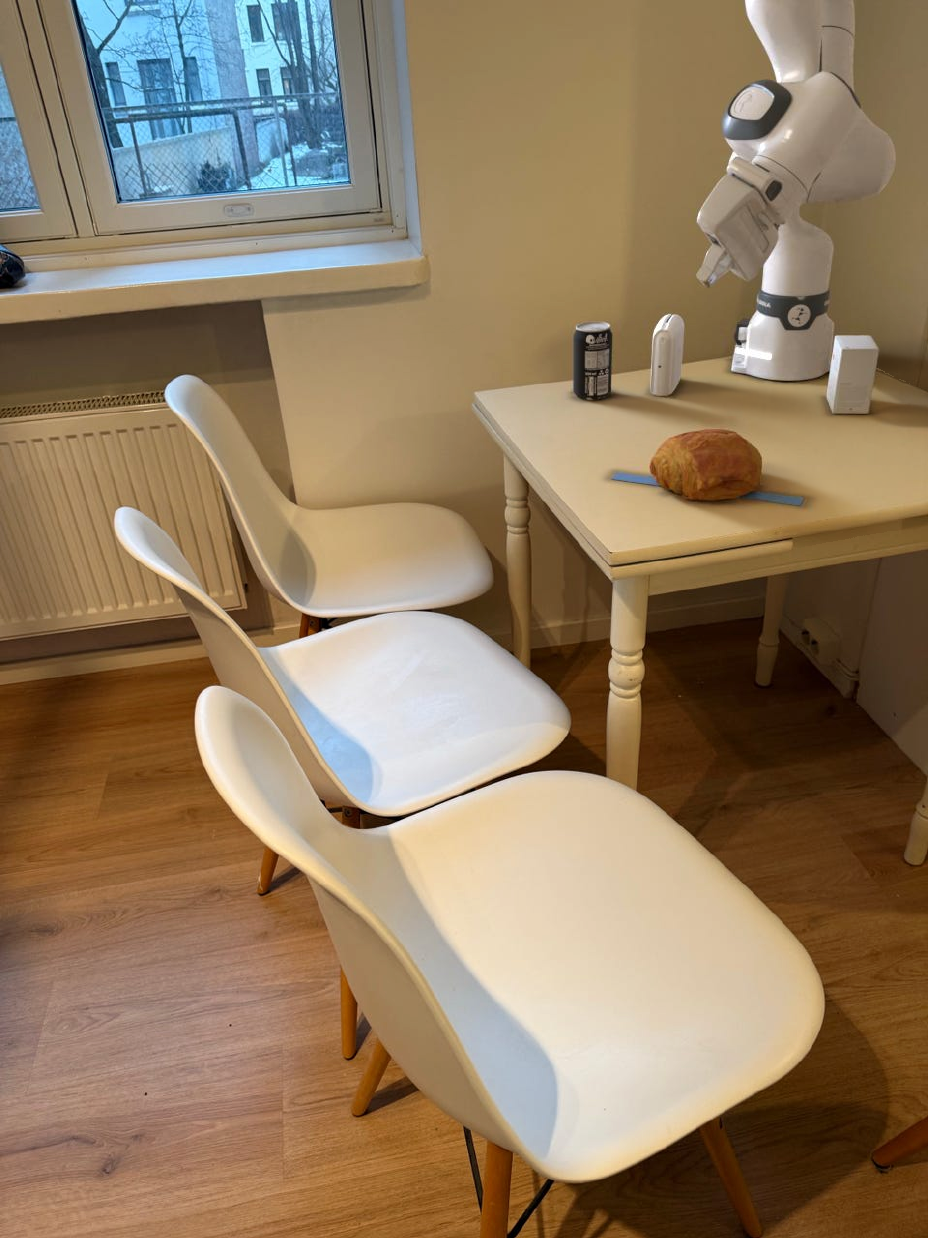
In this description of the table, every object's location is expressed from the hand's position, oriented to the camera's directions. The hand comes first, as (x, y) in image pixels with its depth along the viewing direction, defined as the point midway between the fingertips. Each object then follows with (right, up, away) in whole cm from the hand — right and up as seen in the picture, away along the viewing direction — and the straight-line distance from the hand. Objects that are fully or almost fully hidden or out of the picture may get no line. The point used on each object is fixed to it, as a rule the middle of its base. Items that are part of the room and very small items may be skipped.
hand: (702, 282), depth 133 cm
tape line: (-1, -30, -4) cm, 30 cm away
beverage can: (-11, -9, +32) cm, 35 cm away
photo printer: (+2, -7, +33) cm, 34 cm away
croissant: (0, -29, -3) cm, 29 cm away
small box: (+29, -13, +20) cm, 37 cm away
